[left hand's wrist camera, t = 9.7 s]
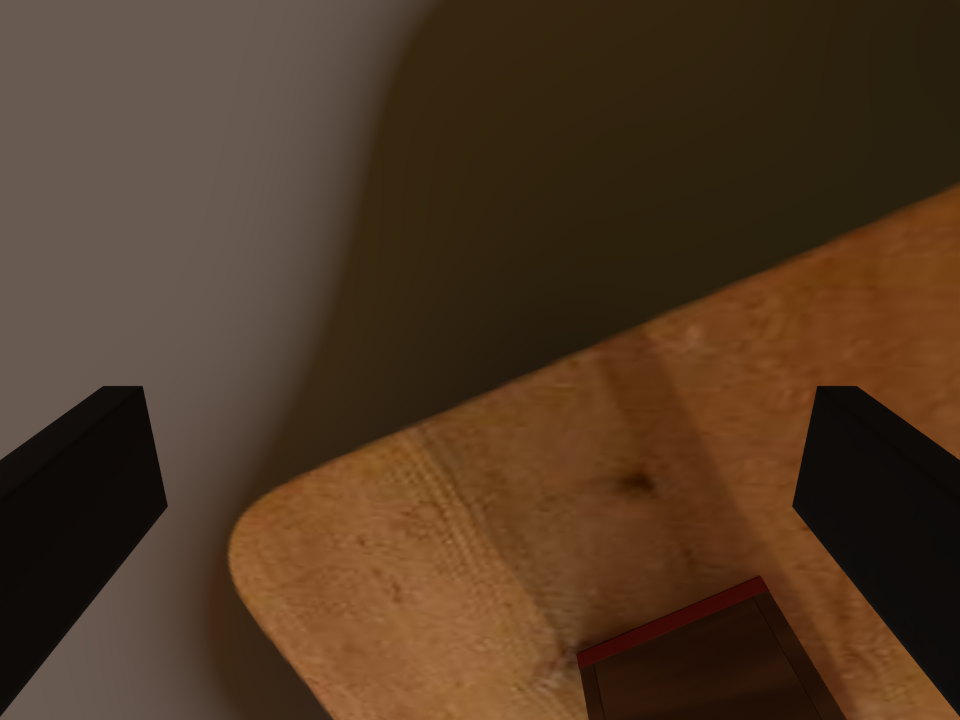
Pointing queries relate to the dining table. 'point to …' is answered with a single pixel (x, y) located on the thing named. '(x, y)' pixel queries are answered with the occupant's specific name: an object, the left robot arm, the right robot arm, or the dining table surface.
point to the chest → (708, 666)
